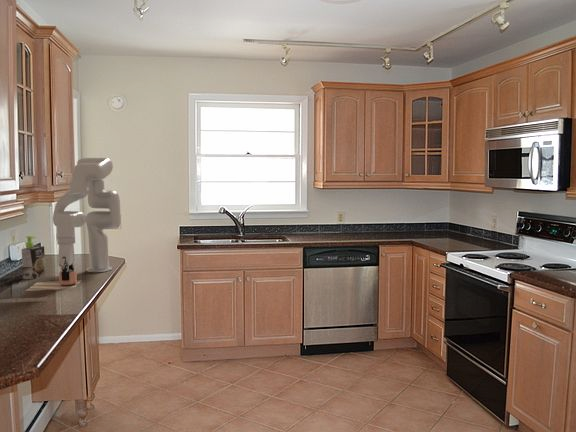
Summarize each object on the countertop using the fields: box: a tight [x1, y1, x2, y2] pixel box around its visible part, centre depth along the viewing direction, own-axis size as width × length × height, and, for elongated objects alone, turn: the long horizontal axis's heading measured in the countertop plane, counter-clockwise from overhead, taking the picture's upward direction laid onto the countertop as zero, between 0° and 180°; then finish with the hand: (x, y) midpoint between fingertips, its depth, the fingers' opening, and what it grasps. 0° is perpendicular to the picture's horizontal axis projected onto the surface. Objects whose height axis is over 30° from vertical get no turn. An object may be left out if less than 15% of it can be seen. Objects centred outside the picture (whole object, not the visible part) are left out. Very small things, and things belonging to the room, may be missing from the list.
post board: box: [25, 269, 82, 292], centre depth 241 cm, size 16×20×8 cm
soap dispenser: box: [25, 235, 36, 248], centre depth 269 cm, size 6×7×20 cm
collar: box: [58, 269, 78, 285], centre depth 242 cm, size 7×7×5 cm
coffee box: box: [21, 245, 47, 280], centre depth 258 cm, size 9×6×16 cm
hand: (68, 278), depth 242 cm, fingers open, 7 cm apart
